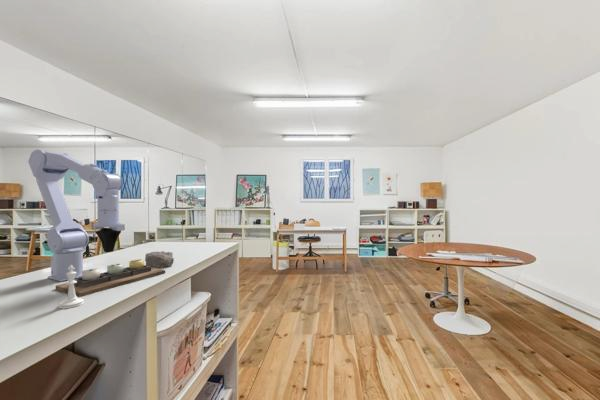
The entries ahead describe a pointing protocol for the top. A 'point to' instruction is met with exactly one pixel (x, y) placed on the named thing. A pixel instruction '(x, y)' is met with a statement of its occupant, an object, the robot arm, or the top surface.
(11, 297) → the top surface
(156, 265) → the stone
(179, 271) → the top surface
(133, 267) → the button three
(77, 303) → the chess piece
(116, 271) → the button two
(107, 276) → the button board
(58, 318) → the top surface
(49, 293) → the top surface
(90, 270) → the button one
